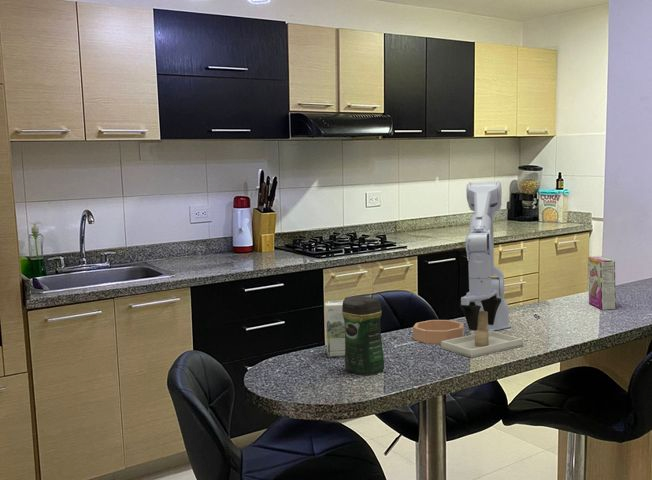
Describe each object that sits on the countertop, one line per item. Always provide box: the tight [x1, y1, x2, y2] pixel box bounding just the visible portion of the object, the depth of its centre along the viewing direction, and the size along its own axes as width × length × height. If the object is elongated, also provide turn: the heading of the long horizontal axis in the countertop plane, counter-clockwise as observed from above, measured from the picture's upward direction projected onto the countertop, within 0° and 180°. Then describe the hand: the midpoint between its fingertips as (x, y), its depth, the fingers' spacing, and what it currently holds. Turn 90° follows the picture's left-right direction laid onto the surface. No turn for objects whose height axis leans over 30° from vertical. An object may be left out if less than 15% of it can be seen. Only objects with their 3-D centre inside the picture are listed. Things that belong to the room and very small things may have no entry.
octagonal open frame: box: [412, 319, 465, 345], centre depth 187 cm, size 14×14×4 cm
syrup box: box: [324, 299, 345, 358], centre depth 174 cm, size 6×6×14 cm
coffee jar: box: [342, 295, 385, 376], centre depth 158 cm, size 10×8×19 cm
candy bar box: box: [587, 255, 617, 311], centre depth 215 cm, size 11×5×16 cm, turn 179°
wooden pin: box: [474, 311, 489, 347], centre depth 174 cm, size 4×4×9 cm
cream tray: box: [441, 330, 524, 359], centre depth 174 cm, size 18×12×2 cm, turn 118°
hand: (481, 327), depth 174 cm, fingers open, 7 cm apart
